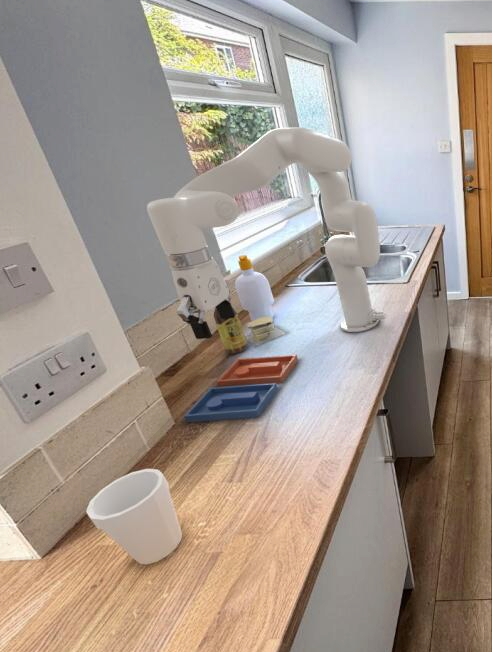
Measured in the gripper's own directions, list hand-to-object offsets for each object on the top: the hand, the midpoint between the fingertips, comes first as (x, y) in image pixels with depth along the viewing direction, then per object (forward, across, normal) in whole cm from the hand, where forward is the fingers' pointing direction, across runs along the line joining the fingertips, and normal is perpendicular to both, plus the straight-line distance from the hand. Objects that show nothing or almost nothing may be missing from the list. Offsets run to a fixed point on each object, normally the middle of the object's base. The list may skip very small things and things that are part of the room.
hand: (217, 327), depth 94 cm
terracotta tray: (+22, +14, +3) cm, 27 cm away
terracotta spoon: (+22, +14, +3) cm, 26 cm away
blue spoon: (+22, 0, +3) cm, 22 cm away
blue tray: (+22, 0, +3) cm, 23 cm away
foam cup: (+22, -38, -4) cm, 44 cm away
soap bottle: (+22, +51, +19) cm, 59 cm away
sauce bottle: (+22, +29, +17) cm, 40 cm away
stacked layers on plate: (+22, +37, +12) cm, 45 cm away
